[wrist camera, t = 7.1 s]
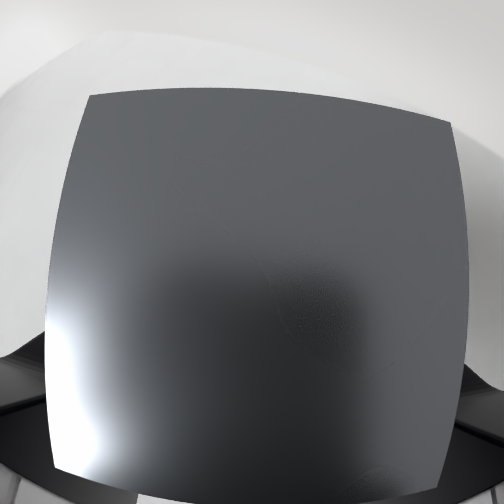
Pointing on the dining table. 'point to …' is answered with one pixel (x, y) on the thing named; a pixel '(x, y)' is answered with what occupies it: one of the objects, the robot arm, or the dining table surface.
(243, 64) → the dining table surface
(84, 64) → the dining table surface
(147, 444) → the grey tapered peg
